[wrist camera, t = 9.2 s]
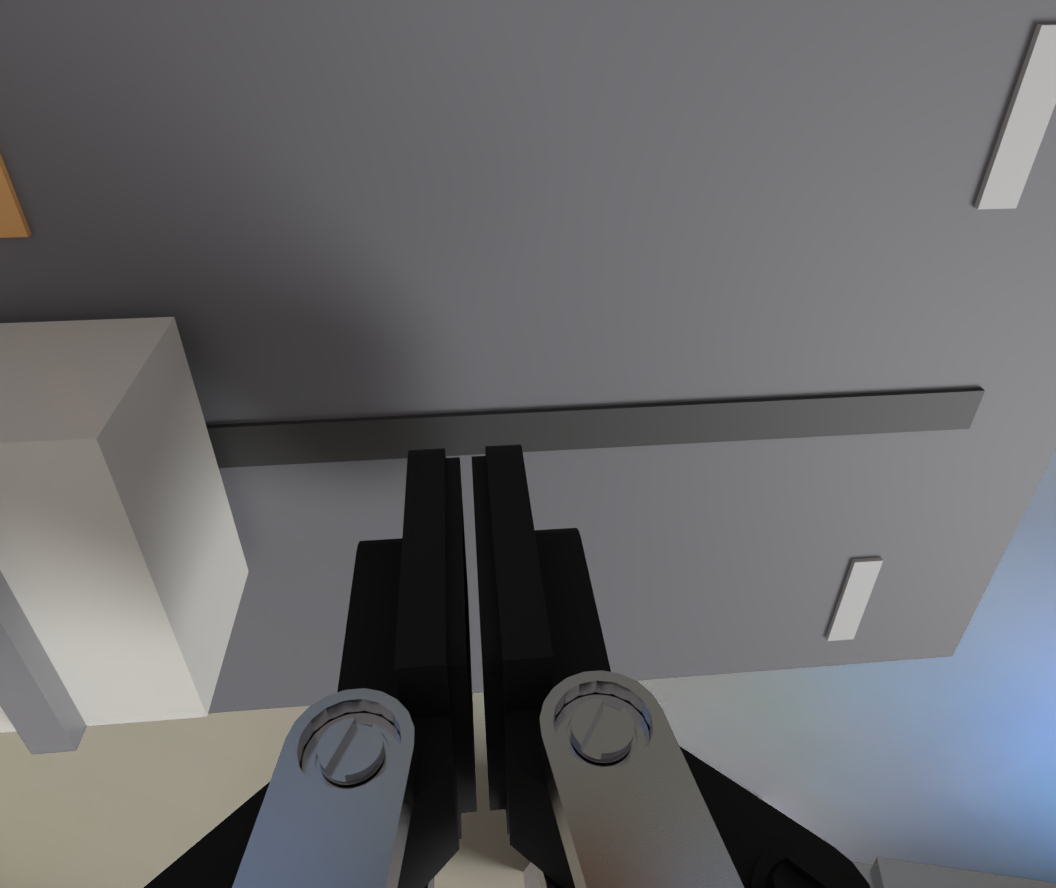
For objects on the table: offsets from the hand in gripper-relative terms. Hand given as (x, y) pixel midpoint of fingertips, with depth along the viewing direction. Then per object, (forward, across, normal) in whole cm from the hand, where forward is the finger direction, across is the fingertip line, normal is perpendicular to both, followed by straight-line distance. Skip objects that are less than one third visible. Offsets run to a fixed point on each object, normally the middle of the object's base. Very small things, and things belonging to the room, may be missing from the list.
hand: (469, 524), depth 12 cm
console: (+4, -1, 0) cm, 4 cm away
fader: (+1, +6, 0) cm, 6 cm away
